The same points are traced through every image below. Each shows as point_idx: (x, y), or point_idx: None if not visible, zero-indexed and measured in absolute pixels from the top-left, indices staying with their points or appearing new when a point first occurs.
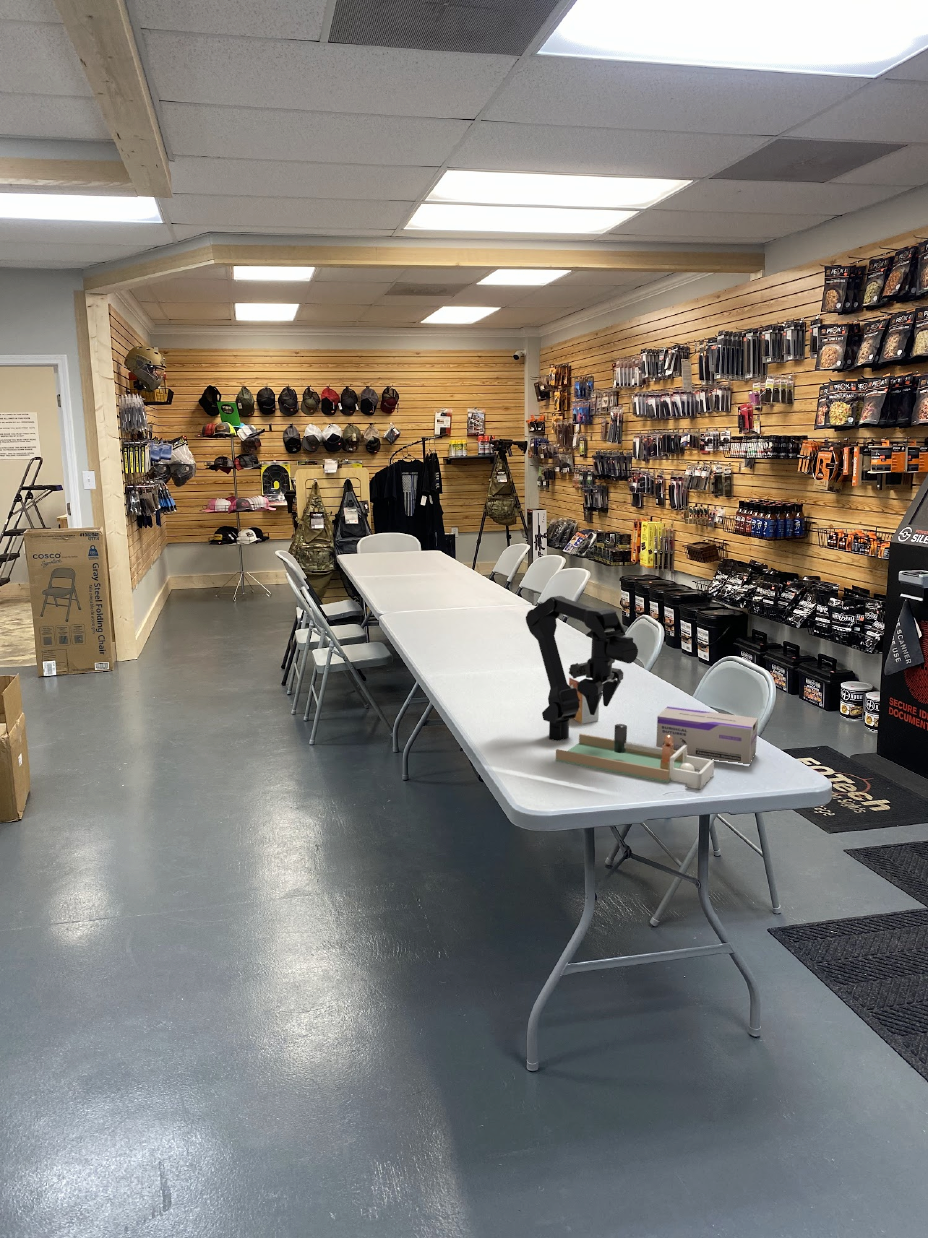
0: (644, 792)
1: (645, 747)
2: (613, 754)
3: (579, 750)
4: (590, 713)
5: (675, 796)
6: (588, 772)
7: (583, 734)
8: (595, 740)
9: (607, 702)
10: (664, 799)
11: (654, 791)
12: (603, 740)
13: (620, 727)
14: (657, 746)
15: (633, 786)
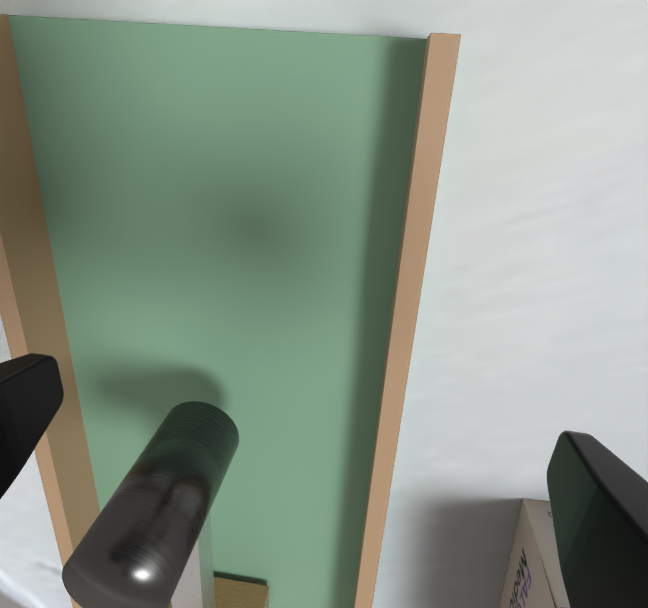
0: (9, 513)
1: (173, 600)
2: (292, 348)
3: (250, 116)
4: (17, 365)
5: (51, 594)
6: None
7: (447, 76)
8: (407, 204)
9: (564, 534)
10: (3, 570)
11: (43, 539)
12: (398, 276)
13: (74, 592)
14: (530, 533)
15: (33, 474)
